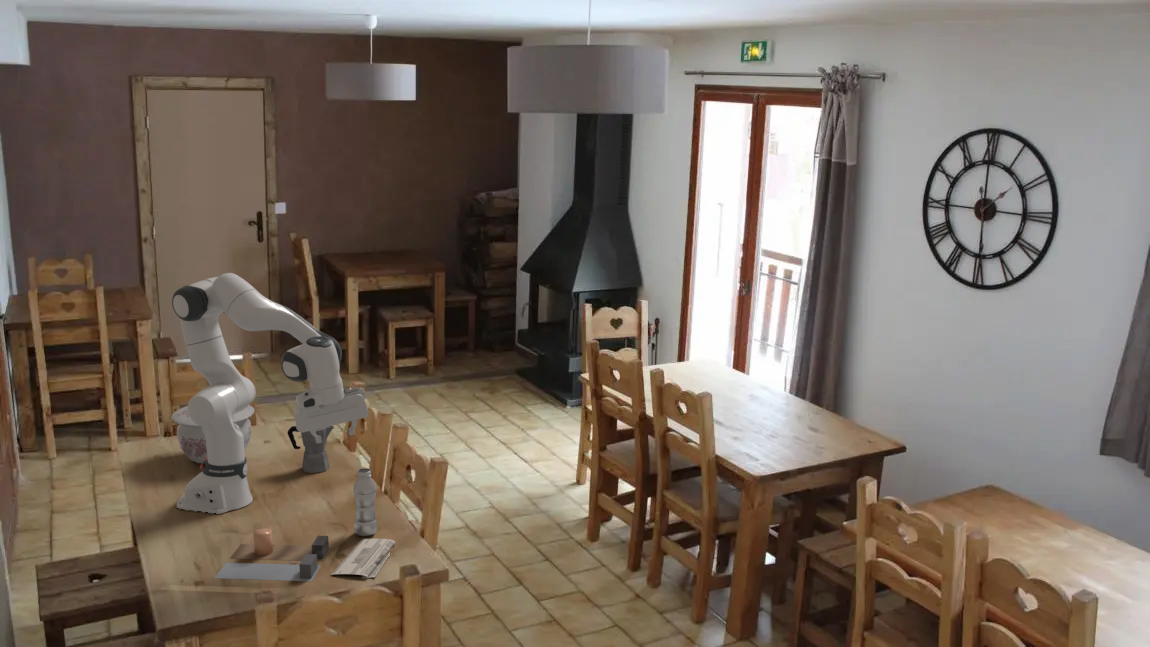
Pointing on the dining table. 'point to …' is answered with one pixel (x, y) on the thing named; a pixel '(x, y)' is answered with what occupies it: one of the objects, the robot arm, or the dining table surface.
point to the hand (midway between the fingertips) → (335, 438)
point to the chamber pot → (194, 437)
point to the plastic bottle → (365, 503)
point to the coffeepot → (313, 449)
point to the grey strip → (272, 570)
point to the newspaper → (366, 558)
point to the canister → (263, 542)
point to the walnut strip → (286, 551)
